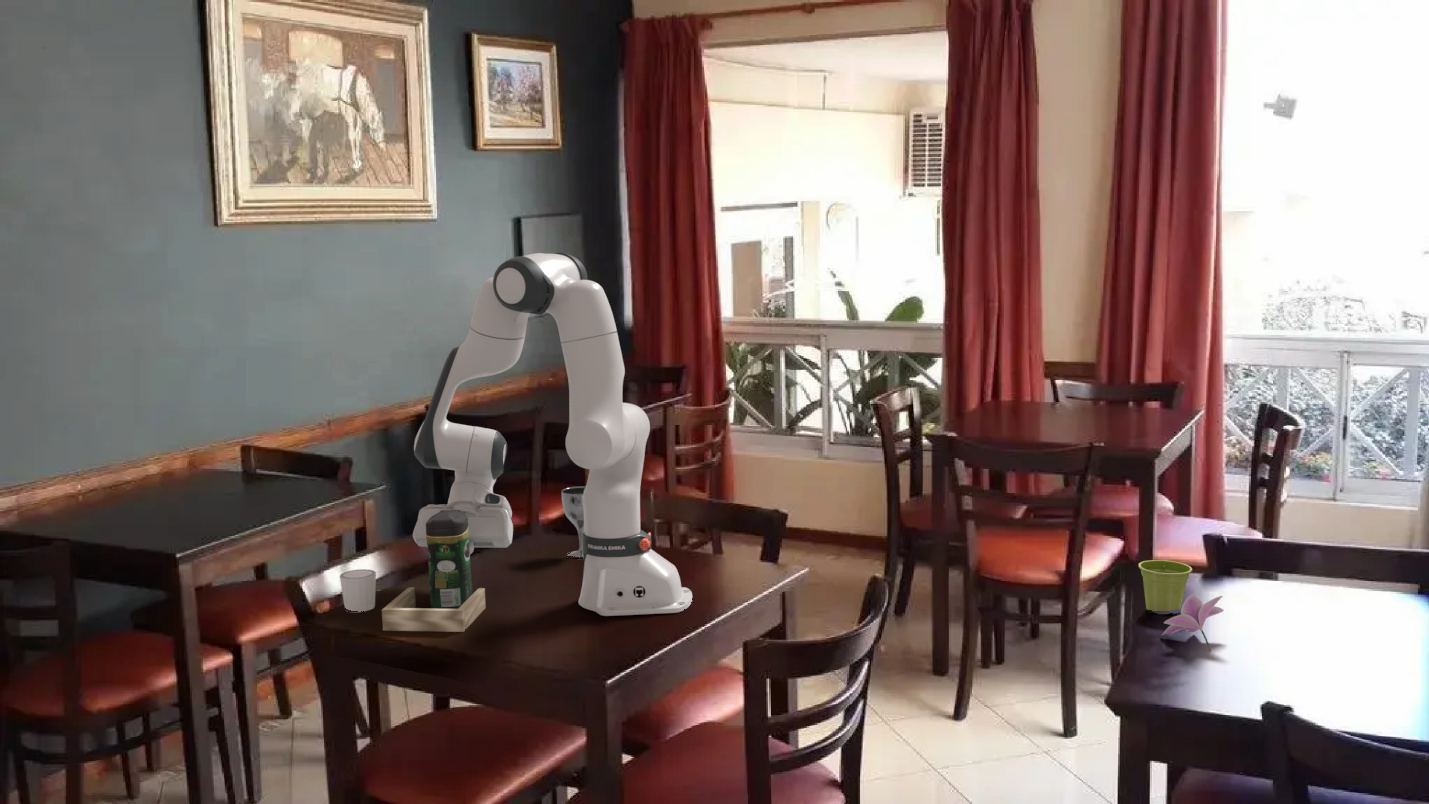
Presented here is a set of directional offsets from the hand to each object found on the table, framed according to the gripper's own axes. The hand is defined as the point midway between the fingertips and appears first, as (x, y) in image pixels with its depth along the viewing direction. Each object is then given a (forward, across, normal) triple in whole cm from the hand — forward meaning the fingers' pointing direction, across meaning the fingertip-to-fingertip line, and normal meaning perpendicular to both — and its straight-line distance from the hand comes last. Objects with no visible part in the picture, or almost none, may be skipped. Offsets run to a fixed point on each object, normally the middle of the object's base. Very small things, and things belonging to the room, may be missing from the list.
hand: (456, 563), depth 247 cm
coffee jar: (+8, 0, +2) cm, 8 cm away
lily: (+19, +138, -9) cm, 140 cm away
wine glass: (-18, +18, +28) cm, 38 cm away
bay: (+14, 0, -5) cm, 15 cm away
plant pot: (+6, +138, +3) cm, 138 cm away
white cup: (+11, -17, -1) cm, 20 cm away
